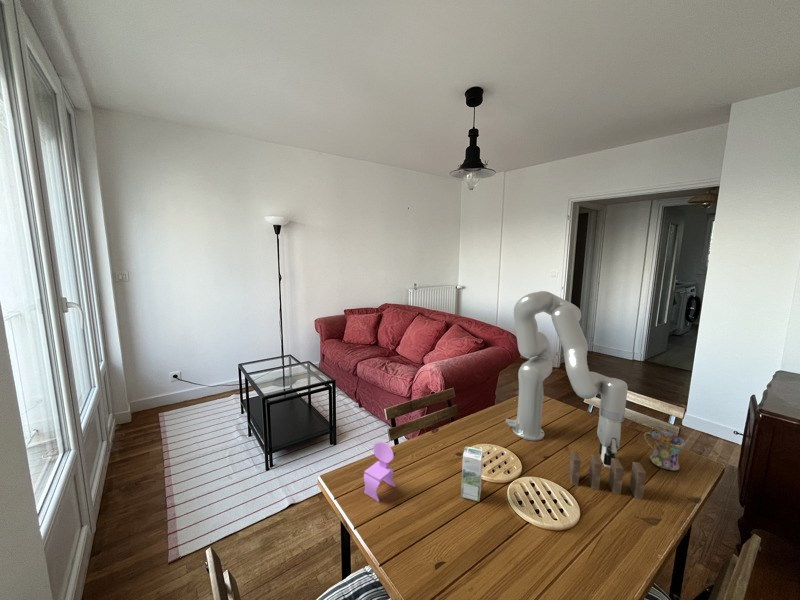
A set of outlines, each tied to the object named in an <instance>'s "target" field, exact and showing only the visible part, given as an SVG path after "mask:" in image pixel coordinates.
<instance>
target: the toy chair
mask: <svg viewBox="0 0 800 600" xmlns="http://www.w3.org/2000/svg"><path fill="white" fill-rule="evenodd" d="M372 450H373V453H374V457H375V458H376V459H378V460H377V461H376V462H375V463H373V464H372V465H371V466H369V467H368V468H367V469H365V470H364V471H363V472H364V474H363V481H364V492H363V493H364V494H366V496H369V497H370V498H371V499H374V500H375V501H377V502H378V503H380V499H379V497H378V493H377V492H378V491H377V490H378V488H379V487H380V484H381V482H382V481H383V482H385V483H386V484H389V485H390V486H392V487H394V488H396V484H395V482H394V479H393V476H394V468H392V467H390V466H389V464H390V462H392V461H393V460H394V458H395V454H394V452H393V451H394V450H393V449H392V448H391V445H389V443H387V442H384V441H380V442H375V443H374V445H373V448H372Z"/></svg>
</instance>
